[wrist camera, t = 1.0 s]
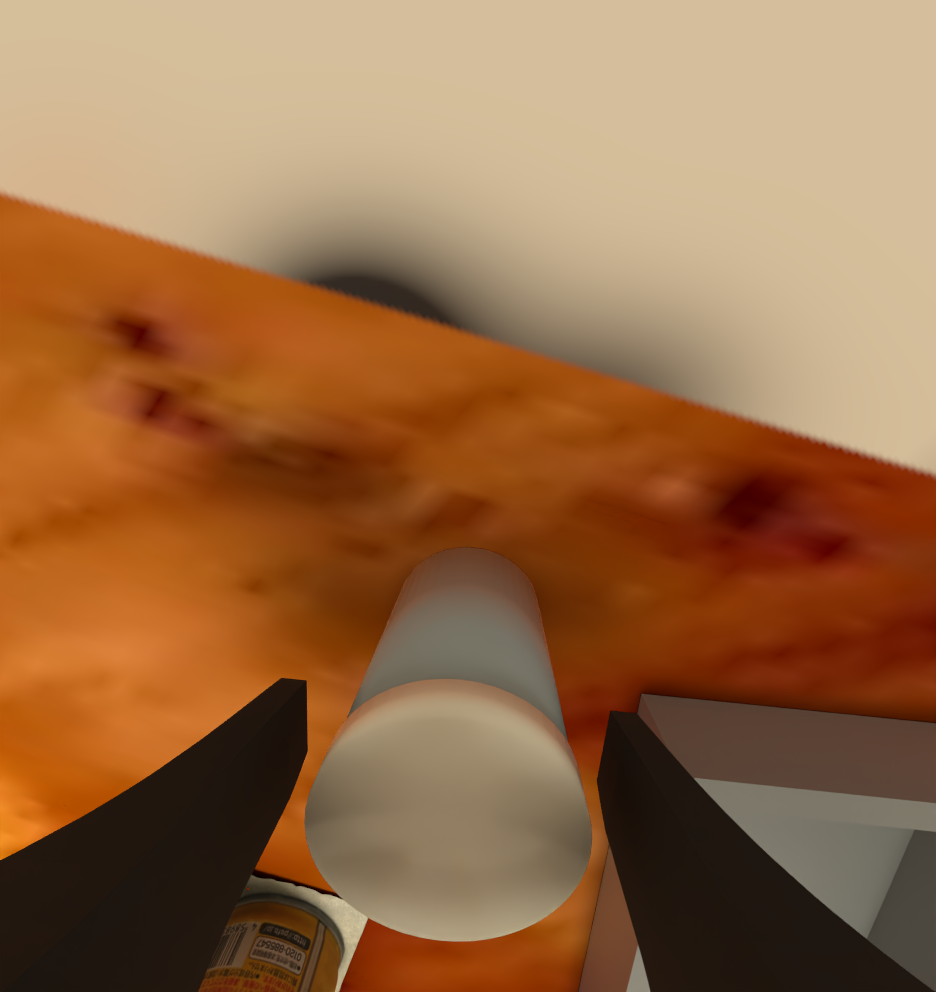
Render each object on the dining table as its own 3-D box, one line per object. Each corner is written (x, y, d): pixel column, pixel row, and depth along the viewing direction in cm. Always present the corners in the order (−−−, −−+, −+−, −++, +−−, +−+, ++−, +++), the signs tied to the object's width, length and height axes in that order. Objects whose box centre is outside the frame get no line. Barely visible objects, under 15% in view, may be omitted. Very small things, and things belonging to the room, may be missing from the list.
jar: (551, 552, 15) (613, 734, 7) (532, 684, 17) (570, 955, 9) (397, 537, 15) (302, 702, 8) (391, 670, 17) (306, 925, 9)
